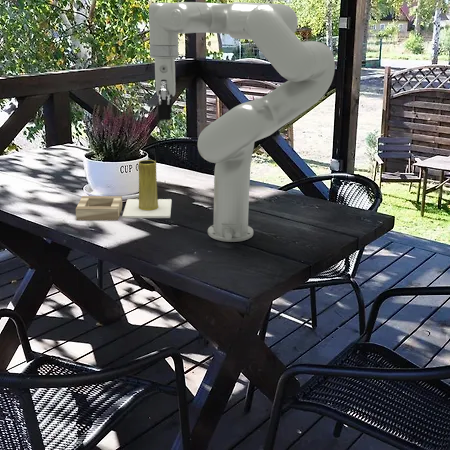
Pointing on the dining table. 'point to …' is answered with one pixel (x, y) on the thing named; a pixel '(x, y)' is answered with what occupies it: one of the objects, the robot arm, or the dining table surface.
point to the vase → (147, 185)
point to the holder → (99, 208)
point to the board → (136, 212)
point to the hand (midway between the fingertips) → (165, 116)
